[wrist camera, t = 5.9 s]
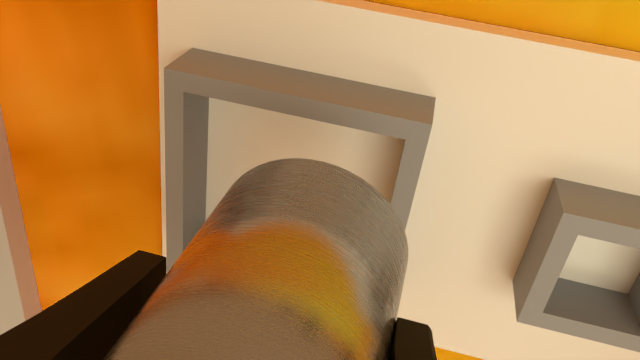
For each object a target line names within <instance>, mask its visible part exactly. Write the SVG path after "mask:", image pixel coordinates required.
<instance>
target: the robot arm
mask: <svg viewBox="0 0 640 360" xmlns="http://www.w3.org/2000/svg"><path fill="white" fill-rule="evenodd" d="M166 274H167V273H166V257H164V256H160V255H156V254H152V253H148V252H144V251H140V250H139V251H137V252H136V253H134V254H132V255H131V256H129V257H127V258H126V259H124V260H123V261H121V262H120V263H118V264H116V265H115V266H113V267H112V268H110V269H109V270H107V271H106V272H104V273H103V274H101V275H99V276H98V277H96V278H95V279H93V280H92V281H90V282H89V283H87V284H85V285H84V286H82V287H81V288H79V289H78V290H76V291H74V292H73V293H71V294H70V295H68V296H66V297H65V298H63V299H61V300H60V301H58V302H57V303H55V304H53V305H52V306H50V307H48V308H47V309H45V310H43V311H42V312H40V313H38V314H37V315H35V316H33V317H31V318H30V319H28V320H26V321H24V322H22V323H21V324H19V325H17V326H15V327H14V328H12V329H10V330H8V331H6V332H5V333H3V334H1V335H0V360H103V359H104V358H105V357H106V355H107V354H108V353H109V351H110V350H111V349H112V347H113V346H114V345H115V343H116V342H117V340H118V339H119V338H120V336H121V335H122V334H123V332H124V331H125V330H126V328H127V327H128V326H129V324H130V323H131V321H132V320H133V319H134V317H135V316H136V315H137V313H138V312H139V311H140V309H141V308H142V307H143V305H144V304H145V303H146V301H147V300H148V298H149V297H150V296H151V294H152V293H153V292H154V290H155V289H156V288H157V286H158V285H159V284H160V282H161V281H162V279H163V278H164V277H165V275H166ZM389 360H437V358H436V353H435V348H434V342H433V335H432V330H431V328H430V327H429V326H428V325H427V324H423V323H419V322H415V321H411V320H407V319H404V318H400V317H397V320H396V325H395V330H394V336H393V341H392V346H391V351H390V356H389Z"/></svg>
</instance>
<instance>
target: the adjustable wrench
mask: <svg viewBox="0 0 640 360" xmlns="http://www.w3.org/2000/svg"><path fill="white" fill-rule="evenodd" d="M40 312H42V309H41V304H40V299H39V295H38V290H37V285H36V280H35V275H34V270H33V265H32V260H31V255H30V250H29V245H28V240H27V235H26V230H25V225H24V220H23V215H22V210H21V205H20V201H19V196H18V191H17V186H16V181H15V176H14V171H13V166H12V161H11V156H10V151H9V146H8V141H7V136H6V131H5V126H4V121H3V116H2V111H1V106H0V335H1V334H3V333H5V332H6V331H8V330H10V329H12V328H14V327H15V326H17V325H19V324H21V323H22V322H24V321H26V320H28V319H30V318H31V317H33V316H35V315H37V314H38V313H40Z"/></svg>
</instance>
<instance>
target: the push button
mask: <svg viewBox="0 0 640 360" xmlns="http://www.w3.org/2000/svg"><path fill="white" fill-rule="evenodd" d="M407 264H408V243H407V237H406V234H405V231H404V227H403V225H402V223H401V221H400V219H399V217H398V215H397V214H396V212H395V210H394V209H393V207H392V206H391V205H390V203H389V202H388V201H387V200H386V199H385V198H384V196H383V195H382V194H381V193H379V192H378V191H377V190H376V189H375V188H374V187H373V186H372V185H370V184H369V183H368V182H366V181H365V180H363V179H362V178H360V177H359V176H357V175H355V174H353V173H352V172H350V171H348V170H345V169H343V168H341V167H339V166H336V165H333V164H329V163H326V162H323V161H317V160H312V159H302V158H289V159H280V160H274V161H270V162H267V163H264V164H261V165H258V166H256V167H254V168H252V169H250V170H249V171H247V172H246V173H244V174H243V175H242V176H240V177H239V178H238V179H237V180H236V181H235V182H234V183H233V185H232V186H231V187H230V189H229V190H228V191H227V193H226V194H225V195H224V197H223V198H222V199H221V201H220V202H219V204H218V205H217V206H216V208H215V209H214V210H213V212H212V213H211V214H210V216H209V217H208V218H207V220H206V221H205V223H204V224H203V225H202V227H201V228H200V229H199V231H198V232H197V233H196V235H195V236H194V237H193V239H192V240H191V241H190V243H189V244H188V246H187V247H186V248H185V250H184V251H183V252H182V254H181V255H180V256H179V258H178V259H177V260H176V262H175V263H174V265H173V266H172V267H171V269H170V270H169V271H168V273H167V274H166V275H165V277H164V278H163V279H162V281H161V282H160V284H159V285H158V286H157V288H156V289H155V290H154V292H153V293H152V294H151V296H150V297H149V298H148V300H147V301H146V303H145V304H144V305H143V307H142V308H141V309H140V311H139V312H138V313H137V315H136V316H135V317H134V319H133V320H132V321H131V323H130V324H129V326H128V327H127V328H126V330H125V331H124V332H123V334H122V335H121V336H120V338H119V339H118V340H117V342H116V343H115V345H114V346H113V347H112V349H111V350H110V351H109V353H108V354H107V355H106V357H105V358H104V359H103V360H389V356H390V351H391V346H392V341H393V336H394V330H395V325H396V320H397V315H398V310H399V305H400V300H401V295H402V290H403V284H404V279H405V274H406V269H407Z"/></svg>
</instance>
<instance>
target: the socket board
mask: <svg viewBox="0 0 640 360" xmlns="http://www.w3.org/2000/svg"><path fill="white" fill-rule="evenodd" d="M157 6H158V56H159V107H160V157H161V207H162V256H164V257H166V273H168V271H169V270H170V269H171V267H172V266H173V265H174V263H175V262H176V260H177V259H178V258H179V256H180V255H181V254H182V252H183V251H184V250H185V248H186V247H187V246H188V244H189V243H190V241H191V240H192V239H193V237H194V236H195V235H196V233H197V232H198V231H199V229H200V228H201V227H202V225H203V224H204V223H205V221H206V220H207V218H208V217H209V216H210V214H211V213H212V212H213V210H214V209H215V208H216V206H217V205H218V204H219V202H220V201H221V199H222V198H223V197H224V195H225V194H226V193H227V191H228V190H229V189H230V187H231V186H232V185H233V183H234V182H235V181H236V180H237V179H238V178H239V177H240V176H242V175H243V174H244V173H246V172H247V171H249V170H250V169H252V168H254V167H256V166H258V165H261V164H264V163H267V162H270V161H274V160H280V159H289V158H302V159H312V160H317V161H323V162H326V163H329V164H333V165H336V166H339V167H341V168H343V169H345V170H348V171H350V172H352V173H353V174H355V175H357V176H359V177H360V178H362V179H363V180H365V181H366V182H368V183H369V184H370V185H372V186H373V187H374V188H375V189H376V190H377V191H378V192H379V193H381V194H382V195H383V196H384V198H385V199H386V200H387V201H388V202H389V203H390V205H391V206H392V207H393V209H394V210H395V212H396V214H397V215H398V217H399V219H400V221H401V223H402V225H403V227H404V231H405V234H406V237H407V243H408V264H407V269H406V274H405V279H404V284H403V290H402V295H401V300H400V305H399V310H398V315H397V317H400V318H404V319H407V320H411V321H415V322H419V323H423V324H427V325H428V326H429V327H430V328H431V330H432V335H433V342H434V347H438V348H442V349H446V350H450V351H454V352H457V353H461V354H465V355H469V356H473V357H477V358H481V359H484V360H640V52H636V51H631V50H625V49H620V48H615V47H609V46H604V45H599V44H593V43H588V42H583V41H577V40H572V39H567V38H561V37H556V36H551V35H545V34H540V33H535V32H529V31H524V30H519V29H513V28H508V27H503V26H497V25H492V24H487V23H481V22H476V21H471V20H465V19H460V18H455V17H449V16H444V15H439V14H433V13H428V12H422V11H417V10H412V9H406V8H401V7H396V6H390V5H385V4H380V3H374V2H369V1H364V0H157Z"/></svg>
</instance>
